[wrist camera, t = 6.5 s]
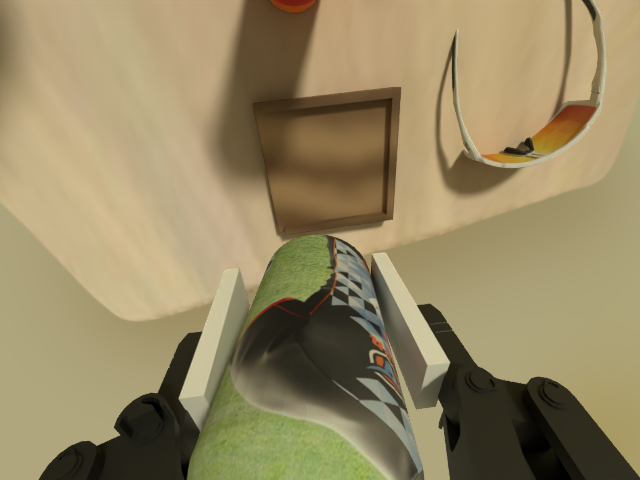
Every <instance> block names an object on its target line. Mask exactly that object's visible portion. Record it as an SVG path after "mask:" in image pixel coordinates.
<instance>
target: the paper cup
mask: <svg viewBox="0 0 640 480" xmlns="http://www.w3.org/2000/svg"><path fill="white" fill-rule="evenodd" d="M269 1H270V2H271V3H272V4H273V5H275V6H276V7H277V8H279V9H280V10H282V11H285V12H289V13H299V12H302V11H304V10H306V9H308V8H309V7H311V6H312V5H313V4H314V3H315V2H316V1H317V0H269Z"/></svg>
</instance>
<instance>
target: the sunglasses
mask: <svg viewBox="0 0 640 480" xmlns="http://www.w3.org/2000/svg"><path fill="white" fill-rule="evenodd" d="M582 1H583V3H584V4H585V5H586V7H587V9H588V11H589V13H590V16H591V18H592V23H593V31H594V37H595V40H596V45H597V50H598V62H597V69H596V73H595V76H594V79H593V81H592V90H591V92H593V93H591V96H590V100H576V101H567V102H565V103H564V104H563V105H562V107H561V108H560V109H559V111H558V112H557V113H556V114H555V115H554V117H553V118H552V119H551V120H550V121H549V122H548V124H547V125H546V126H545V127H544V128H543V129H542V130H541V131H540V132H538V133H537V134H536V135H535V136H533V137H531V138H530V137H529V138H527V139H526V140H525V142H524V143H525V145H526V147H527V151H525V152H523V151H520V150H518V149H514V148H510V147H507V148H506V149H505V150H504V152H503V151H501V152H499V153H498V154H491V155H484V154H480V153H479V152H478V150H477V149H476V147H475V145H474V144H473V142H472V140H471V138H470V136H469V134H468V132H467V130H466V127H465V125H464V122H463V119H462V116H461V111H460V106H459V97H458V78H457V53H458V37H459V30H458V29H457V30H456V34H455V37H454V42H453V51H452V88H453V104H454V108H455V112H456V115H457V119H458V122H459V127H460V131H461V135H462V140H463V144H464V146H465V147H466V149H467V150H466V149H464V151H463V153H464V154H465V155H466V157H468V158H470V159H472V160H475V161H478V162H482V163H485V164H488V165H491V166H495V167H500V168H522V167H529V166H533V165H536V164H540V163H543V162H545V161H547V160H550V159H552V158H554V157H556V156H558V155H559V154H561V153H563V152H564V151H566V150H567V149H569V148H570V147H571V146H573V145H574V144H575V143H576V142H577V141H579V140H580V139H581V138H582V137H583V136H584V135H585V134H586V133H587V132H588V131H589V128H590V126H591V125H592V124H593V122H594V121H595V119H596V118H597V117H598V115H599V113H600V112H601V110H602V101H603V94H604V88H605V79H606V48H605V37H604V29H603V21H602V16H601V13H600V10H599V8H598V6H597V4H596V3H595V1H594V0H582Z"/></svg>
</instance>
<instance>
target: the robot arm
mask: <svg viewBox="0 0 640 480" xmlns="http://www.w3.org/2000/svg"><path fill="white" fill-rule="evenodd" d="M371 279H372V283H373V287H374V290H375V294H376V298H377V301H378V305H379V309H380V313H381V316H382V320H383V324H384V327H385V331H386V334H387V337H388V339H389V342H390V344H391V347H392V349H393V352H394V354H395V357H396V359H397V362H398V365H399V367H400V370H401V372H402V374H403V377H404V380H405V382H406V385H407V387H408V390H409V392H410V395H411V397H412V400H413V402H414V405H415V407H416V409H422V408H429V407H435V406H436V404H437V401H438V399H439V401H440V403H441V405H442V407H443V409H444V410H443V412H442V415H441V418H440V421H439V428H440V429H442V427H444V435H445V443H446V451H447V458H448V467H449V475H450V480H640V477H639V476H638V475H637V473H636V472H635V471H634V470H633V469H632V467H631V466H630V465H629V463H627V461H626V460H625V459H624V457H623V456H622V455H621V454H620V452H619V451H618V450H617V449H616V447H615V446H614V445H613V444H612V442H611V441H610V440H609V439H608V437H607V436H606V435H605V434H604V432H603V431H602V430H601V429H600V428H599V426H598V425H597V424H596V422H595V421H594V420H593V419H592V417H591V416H590V415H589V414H588V412H587V411H586V410H585V409H584V407H583V406H582V405H581V404H580V402H579V401H578V400H577V399H576V398H575V396H573V395H572V393H571V392H570V391H569V390H568V389H567V388H565V387H564V386H562V385H560V384H559V383H558V382H555V381H553V380H551V379H548V378H544V377H534V378H531V379H530V380H529V382H528V383H527V384H521V383H516V382H510V381H505V380H501V379H497V378H495V377H493V376H492V375H491V374H490V373H489V372H487V371H486V370H484V369H483V368H480V367H478V366H477V365H476V363H475V362H474V361H473V360H472V358H471V357H470V355H469V353H468V352H467V351H466V349H465V348H464V346H463V345H462V343H461V342H460V340H459V339H458V337H457V336H456V334H455V333H454V331H452V328H451V327H450V325H449V324H448V323H447V321H446V319H445V318H444V317H443V315H442V314H441V312H440V311H439V310H437V309H436V308H435V307H434V306H432V305H431V304H425V305H416V304H415V302H414V300H413V299H412V297H411V295H410V293H409V292H408V290H407V288H406V287H405V285H404V283H403V281H402V280H401V278H400V276H399V275H398V273H397V271H396V269H395V268H394V266H393V264H392V263H391V261H390V259H389V258H388V256H387V254H386V253H376V254H372V261H371ZM249 306H250V305H249V302H248V298H247V294H246V290H245V287H244V283H243V279H242V276H241V272H240V268H234V269H225V270H224V273H223V276H222V279H221V282H220V284H219V287H218V290H217V293H216V296H215V298H214V301H213V304H212V307H211V310H210V312H209V315H208V318H207V321H206V324H205V327H204V329H203V332H195V333H188V334H187V336H186V337H185V338H184V339H183V340H182V341H181V342H180V343H179V345H178V347H177V350H176V352H175V354H174V358H173V359H172V361H171V364H170V368H168V370H167V373H166V375H165V377H164V380H163V382H162V384H161V387H160V389H159V391H158V393H149V394H145V395H142V396H140V397H139V398H137V399H135V400H134V401H132V402H131V403H130V404H129V405H128V406H127V407H126V408H125V409H124V410H123V411H122V412H121V414H120V415H119V417H118V418H117V421H116V423H115V426H114V428H115V429H116V430H117V432H119V434H120V436H118V437H116V438H113V439H111V440H109V441H107V442H105V443H102V444H100V445H98V446H96V445H95V444H93V443H92V442H90V441H82V442H79V443H76V444H74V445H72V446H70V447H68V448H67V449H65V450H64V451H63V452H61V453H60V454H59V455H58V456H57V457H56V458H55V459H54V460H53V461H52V462H51V463H50V464H49V465H48V466H47V468H46V469H45V471H44V472H43V473H42V475H41V477H40V478H39V480H187V475H188V468H189V463H190V459H191V455H192V453H193V450H194V448H195V445H196V443H197V440H198V438H199V434H200V433H201V431H202V428H203V426H204V423H205V421H206V418H207V416H208V413H209V411H210V408H211V406H212V403H213V401H214V398H215V396H216V393H217V391H218V388H219V386H220V383H221V381H222V378H223V376H224V373H225V371H226V368H227V366H228V363H229V361H230V358H231V356H232V353H233V351H234V349H235V346H236V344H237V341H238V339H239V336H240V334H241V331H242V329H243V326H244V324H245V321H246V319H247V316H248V311H249Z"/></svg>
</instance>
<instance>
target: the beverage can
mask: <svg viewBox="0 0 640 480" xmlns="http://www.w3.org/2000/svg"><path fill="white" fill-rule="evenodd" d="M187 480H424V473H423V467H422V463H421V460H420V456H419V452H418V449H417V446H416V441H415V438H414V434H413V430H412V427H411V423H410V419H409V416H408V412H407V408H406V404H405V401H404V397H403V393H402V390H401V386H400V382H399V379H398V375H397V371H396V368H395V364H394V360H393V357H392V353H391V349H390V346H389V342H388V339H387V335H386V331H385V327H384V324H383V320H382V316H381V313H380V309H379V305H378V301H377V298H376V294H375V290H374V287H373V283H372V279H371V276H370V273H369V269H368V266H367V264H366V261H365V260H364V258H363V257H362V255H361V254H360V253H359V252H358V251H357V250H356V249H355V248H354V247H353V246H351V245H350V244H349V243H347V242H345V241H343V240H341V239H339V238H336V237H332V236H328V235H320V234H318V235H306V236H301V237H298V238H296V239H293V240H291V241H289V242H287V243H286V244H284V245H283V246H282V247H281V248H279V249H278V250H277V251H276V253H275V254H274V255H273V256H272V258H271V260H270V262H269V264H268V267H267V269H266V271H265V274H264V276H263V279H262V281H261V284H260V286H259V289H258V291H257V294H256V296H255V299H254V301H253V304H252V307H251V309H250V311H249V314H248V316H247V319H246V321H245V324H244V326H243V329H242V331H241V334H240V336H239V339H238V341H237V344H236V346H235V349H234V351H233V353H232V356H231V358H230V361H229V363H228V366H227V368H226V371H225V373H224V376H223V378H222V381H221V383H220V386H219V388H218V391H217V393H216V396H215V398H214V401H213V403H212V406H211V408H210V411H209V413H208V416H207V418H206V421H205V423H204V426H203V428H202V431H201V433H200V436H199V438H198V440H197V443H196V445H195V448H194V450H193V453H192V455H191V459H190V463H189V468H188V475H187Z"/></svg>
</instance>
